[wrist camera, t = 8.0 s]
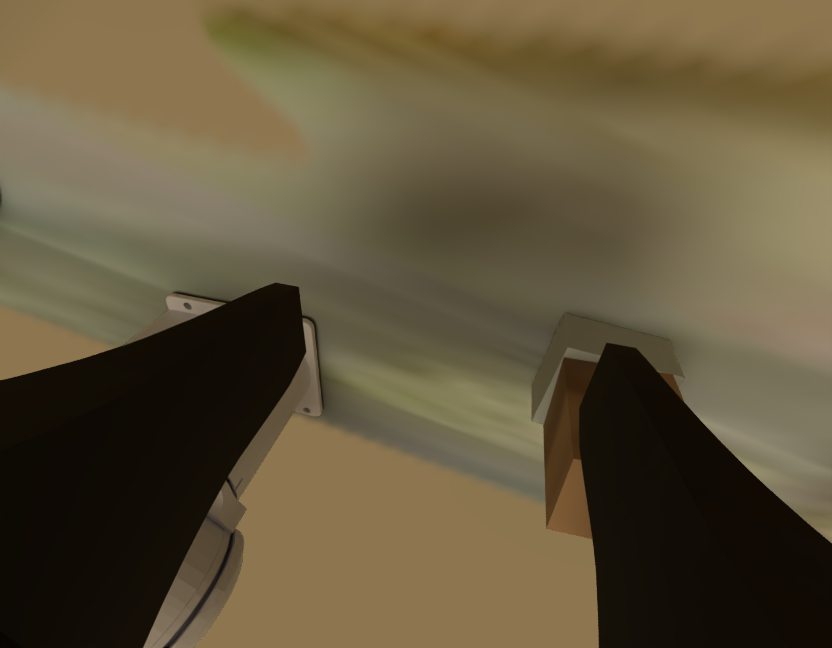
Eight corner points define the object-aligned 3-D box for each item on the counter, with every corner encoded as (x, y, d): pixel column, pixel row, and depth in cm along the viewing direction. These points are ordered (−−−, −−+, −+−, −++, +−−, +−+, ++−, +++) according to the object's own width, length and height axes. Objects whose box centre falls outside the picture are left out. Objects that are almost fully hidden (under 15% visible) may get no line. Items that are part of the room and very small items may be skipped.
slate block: (532, 381, 24) (531, 421, 21) (564, 310, 21) (567, 347, 18) (621, 405, 23) (630, 449, 21) (667, 336, 20) (684, 377, 18)
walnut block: (543, 425, 21) (546, 528, 17) (563, 357, 19) (573, 458, 14) (637, 442, 20) (666, 555, 16) (673, 374, 18) (718, 486, 13)
